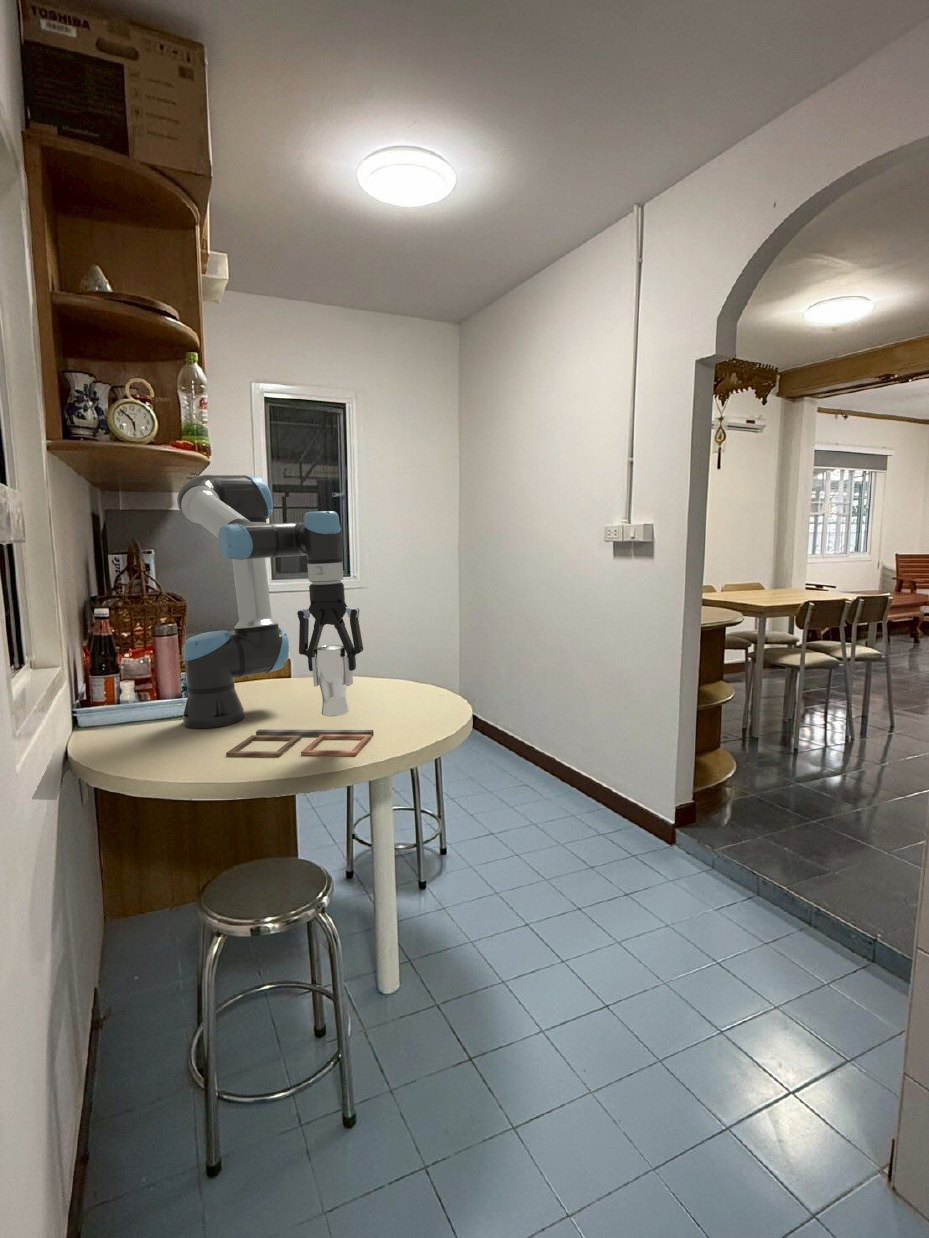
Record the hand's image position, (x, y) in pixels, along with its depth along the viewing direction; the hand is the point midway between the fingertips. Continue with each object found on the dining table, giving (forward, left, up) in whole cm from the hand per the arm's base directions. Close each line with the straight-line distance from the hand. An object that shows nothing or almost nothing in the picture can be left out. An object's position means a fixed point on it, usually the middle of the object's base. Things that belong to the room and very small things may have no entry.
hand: (333, 684), depth 147 cm
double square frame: (-9, +1, -14) cm, 17 cm away
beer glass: (0, 0, -7) cm, 7 cm away
